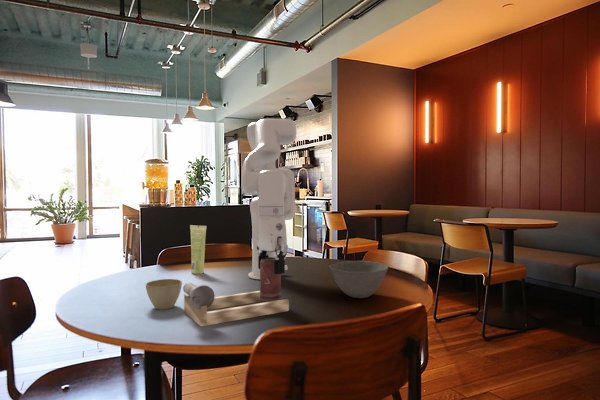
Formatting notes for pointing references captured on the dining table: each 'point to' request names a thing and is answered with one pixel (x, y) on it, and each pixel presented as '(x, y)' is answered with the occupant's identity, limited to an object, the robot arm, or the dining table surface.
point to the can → (269, 281)
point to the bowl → (358, 277)
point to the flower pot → (163, 292)
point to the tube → (197, 248)
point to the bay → (226, 305)
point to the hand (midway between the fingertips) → (271, 271)
